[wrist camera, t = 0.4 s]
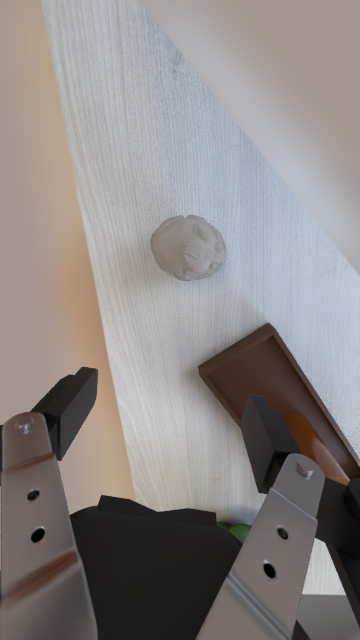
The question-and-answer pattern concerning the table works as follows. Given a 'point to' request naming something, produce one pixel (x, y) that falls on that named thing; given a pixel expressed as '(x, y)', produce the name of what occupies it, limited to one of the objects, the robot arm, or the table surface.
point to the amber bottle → (314, 447)
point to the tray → (274, 388)
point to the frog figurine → (188, 247)
